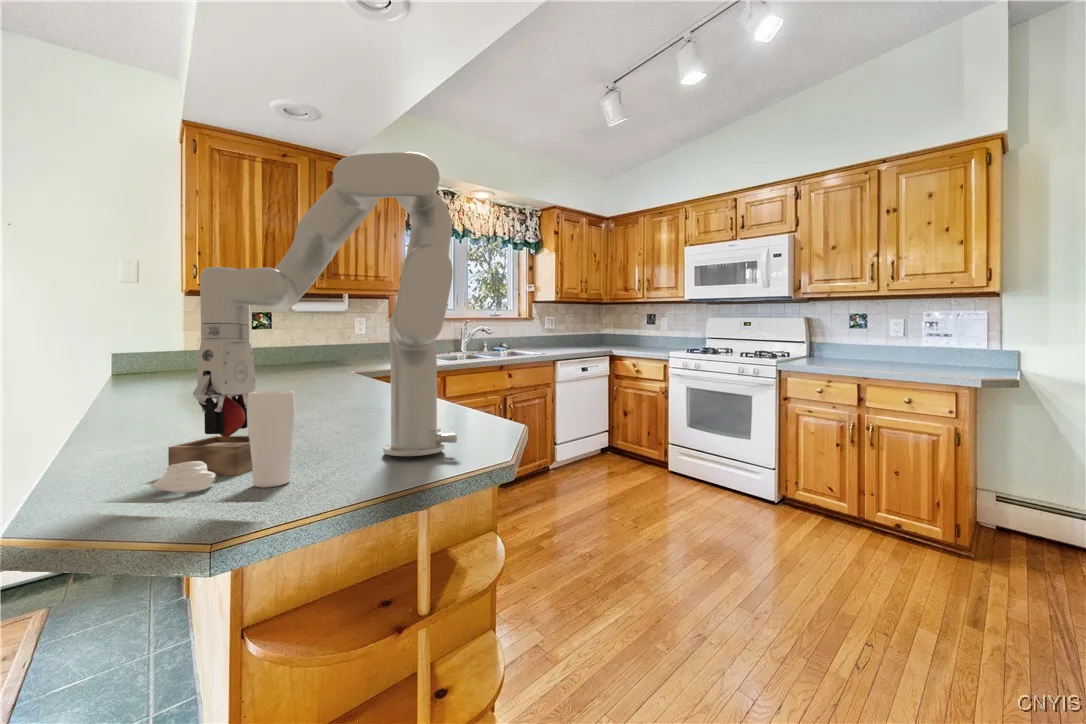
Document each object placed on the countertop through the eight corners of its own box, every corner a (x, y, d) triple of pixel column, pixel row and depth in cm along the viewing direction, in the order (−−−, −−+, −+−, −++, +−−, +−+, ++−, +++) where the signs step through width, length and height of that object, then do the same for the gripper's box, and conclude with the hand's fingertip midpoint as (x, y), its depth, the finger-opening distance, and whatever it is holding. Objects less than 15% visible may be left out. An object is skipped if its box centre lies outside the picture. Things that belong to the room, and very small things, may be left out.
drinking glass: (264, 478, 79) (263, 390, 79) (303, 478, 79) (303, 390, 79) (237, 489, 72) (236, 393, 72) (280, 490, 72) (279, 393, 72)
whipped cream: (149, 502, 67) (149, 468, 67) (151, 492, 72) (151, 460, 72) (217, 492, 72) (217, 460, 72) (215, 483, 77) (214, 454, 77)
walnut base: (276, 460, 94) (276, 435, 93) (237, 475, 82) (237, 446, 81) (216, 460, 93) (216, 435, 93) (168, 475, 81) (168, 447, 81)
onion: (241, 433, 92) (240, 393, 92) (248, 437, 87) (248, 394, 87) (205, 437, 88) (204, 394, 87) (211, 441, 83) (210, 396, 83)
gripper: (213, 332, 79) (214, 438, 79) (272, 336, 96) (273, 424, 96) (168, 332, 79) (170, 439, 79) (235, 337, 96) (236, 424, 96)
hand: (226, 430), depth 88 cm, fingers closed on onion, 5 cm apart
